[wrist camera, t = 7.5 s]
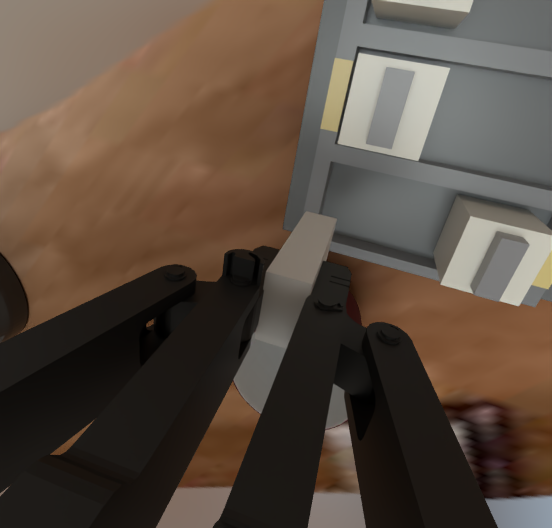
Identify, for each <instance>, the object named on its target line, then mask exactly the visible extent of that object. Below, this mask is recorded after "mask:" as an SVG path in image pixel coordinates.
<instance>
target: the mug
mask: <svg viewBox="0 0 552 528" xmlns="http://www.w3.org/2000/svg"><path fill="white" fill-rule="evenodd" d="M346 310H347V311H346V312H347V314H348V315H349V317H350V318H351V319H352V320H354V321H355V322H356V323H358V324H360V325H361V326H362V323H361V316H360V311H359V308H358V305H357V302H356V300H355V299H354V297H353V295H352V294H351V292H350V291H348V297H347V302H346ZM255 333H256V330H255V332H254V333H253V335H252V339H251V345H250V349H249V351H248V353H247V354H246V356H245V358H244V360H243V362H242V364H241V366H240V368H239V370H238V372H237V374H236V375H235V377H234V379H233V382H234V385H235V387H236V389H237V390H238V392H239V393H240V395H241V396H242V397H243V399H244V400H245V401H246V402H247V403H248V404H249V405H250V406H251V407H252V408H253V409H254V410H256V411H257V412H258V413H260V414H261V413H262V410H263V408H264V405H265V402H266V400H267V397H268V395H269V392H270V390H271V387H272V384H273V382H274V379H275V377H276V374H277V372H278V369H279V366H280V364H281V361H282V359H283V356H284V354H285V351H286V349H285V348H282V347H279V346H276V345H272V344H269V343H266V342H263V341H260V340H256V339H255ZM344 391H345V390H343V389H341V388H340V387H338V386H336V385H335V384H333V389H332V395H331V400H330V406H329V411H328V417H327V422H326V428H325V430H328V429H332V428H335V427H337V426H340V425H341V424H343V423H345V422H346V421H348V418H347V412H346V406H345V400H344Z"/></svg>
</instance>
